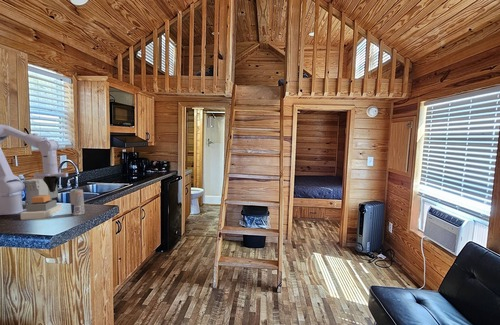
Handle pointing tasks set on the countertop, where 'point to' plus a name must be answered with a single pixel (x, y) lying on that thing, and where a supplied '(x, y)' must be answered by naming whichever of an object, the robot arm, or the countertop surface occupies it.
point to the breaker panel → (41, 210)
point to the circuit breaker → (37, 189)
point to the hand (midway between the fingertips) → (52, 191)
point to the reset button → (40, 198)
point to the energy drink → (77, 202)
